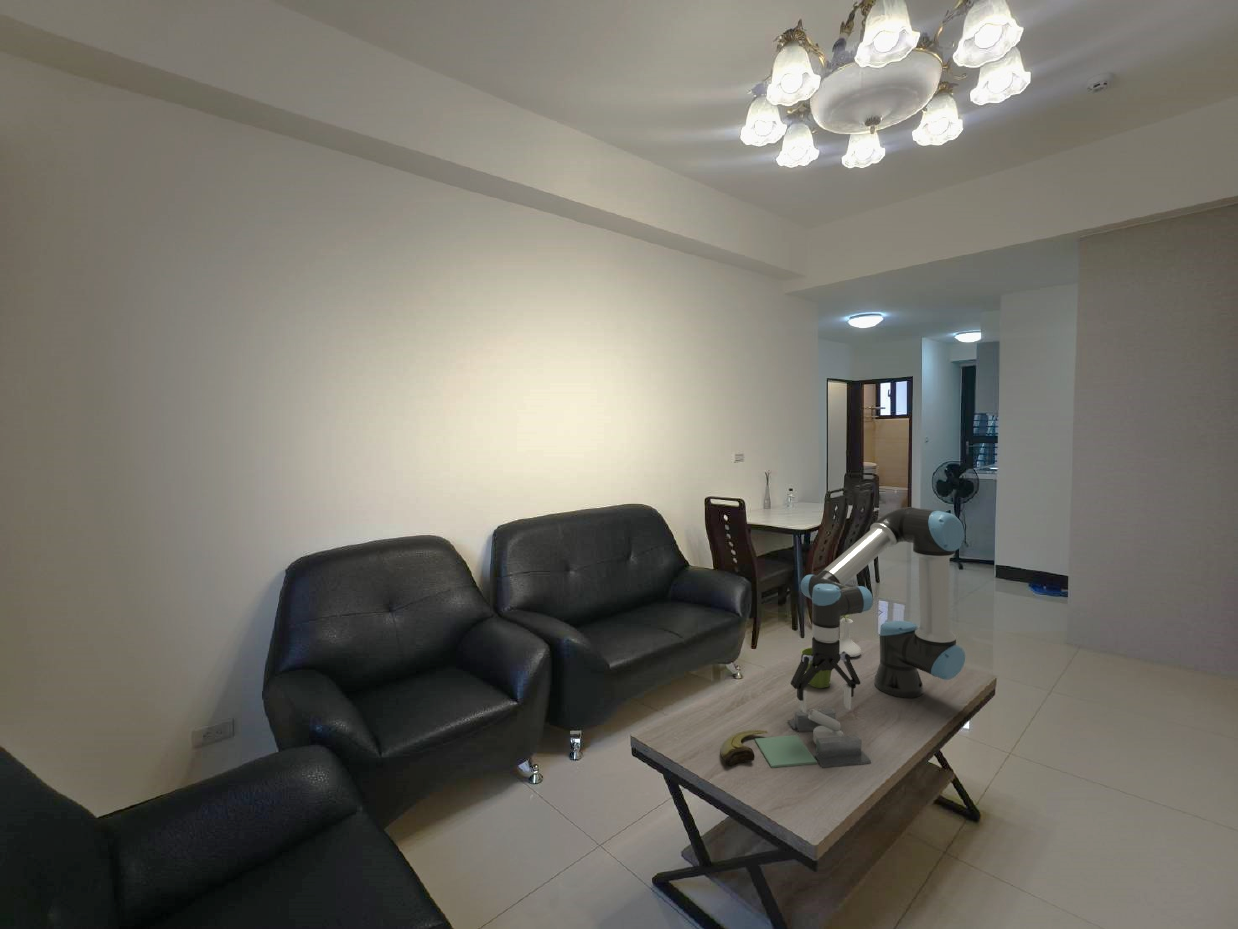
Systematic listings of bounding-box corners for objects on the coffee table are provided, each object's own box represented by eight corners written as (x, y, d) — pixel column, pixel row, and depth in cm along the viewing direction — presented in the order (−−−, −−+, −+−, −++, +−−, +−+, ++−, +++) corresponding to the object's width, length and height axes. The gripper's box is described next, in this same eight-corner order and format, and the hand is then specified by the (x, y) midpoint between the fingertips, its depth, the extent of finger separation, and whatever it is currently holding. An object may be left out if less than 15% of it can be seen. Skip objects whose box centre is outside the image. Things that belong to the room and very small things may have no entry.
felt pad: (796, 736, 161) (796, 735, 161) (816, 763, 148) (816, 761, 148) (754, 740, 160) (754, 738, 160) (771, 767, 147) (771, 765, 147)
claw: (750, 773, 145) (749, 761, 144) (713, 765, 149) (712, 753, 149) (766, 735, 162) (765, 724, 162) (733, 729, 167) (732, 718, 167)
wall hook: (806, 701, 163) (841, 704, 161) (806, 732, 164) (841, 734, 162) (810, 716, 155) (847, 719, 153) (810, 748, 155) (847, 751, 153)
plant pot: (830, 676, 199) (830, 646, 198) (840, 692, 187) (840, 660, 187) (797, 676, 200) (797, 646, 199) (805, 691, 188) (805, 660, 188)
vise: (830, 718, 171) (830, 703, 170) (870, 763, 148) (870, 745, 148) (787, 722, 169) (787, 707, 169) (822, 767, 147) (822, 750, 146)
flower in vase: (842, 645, 226) (842, 587, 224) (867, 655, 216) (867, 594, 215) (822, 653, 219) (822, 593, 217) (847, 663, 209) (847, 600, 208)
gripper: (859, 631, 161) (858, 699, 163) (779, 635, 159) (779, 705, 160) (873, 640, 154) (872, 712, 155) (789, 645, 152) (789, 718, 153)
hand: (825, 709), depth 158 cm, fingers open, 13 cm apart
